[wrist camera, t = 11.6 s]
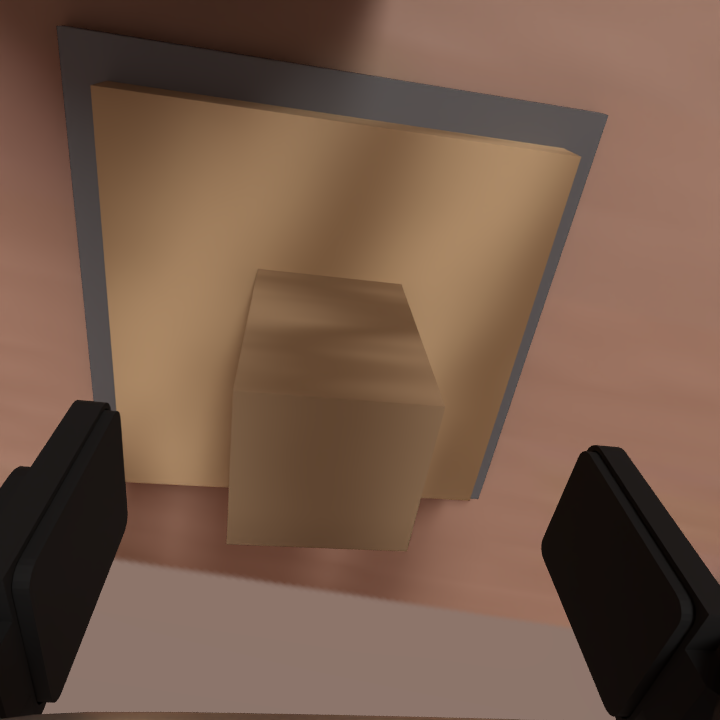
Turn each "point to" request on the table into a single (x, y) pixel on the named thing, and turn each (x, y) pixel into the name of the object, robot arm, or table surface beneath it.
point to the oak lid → (314, 305)
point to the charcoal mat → (300, 91)
